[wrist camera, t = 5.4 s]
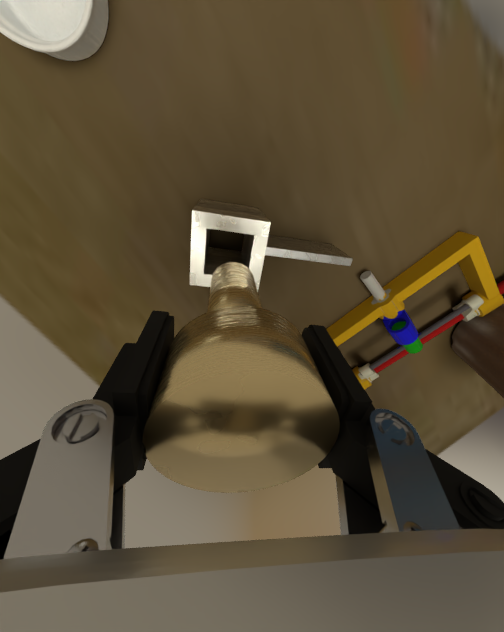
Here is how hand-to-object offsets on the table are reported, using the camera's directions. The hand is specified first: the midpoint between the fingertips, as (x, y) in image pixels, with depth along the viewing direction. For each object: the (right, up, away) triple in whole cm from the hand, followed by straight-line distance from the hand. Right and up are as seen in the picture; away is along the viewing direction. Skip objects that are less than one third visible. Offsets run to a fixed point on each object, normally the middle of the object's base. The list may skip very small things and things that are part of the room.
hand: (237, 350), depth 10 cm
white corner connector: (+2, +7, +22) cm, 23 cm away
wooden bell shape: (-1, +4, +6) cm, 7 cm away
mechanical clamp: (+23, +3, +28) cm, 36 cm away
